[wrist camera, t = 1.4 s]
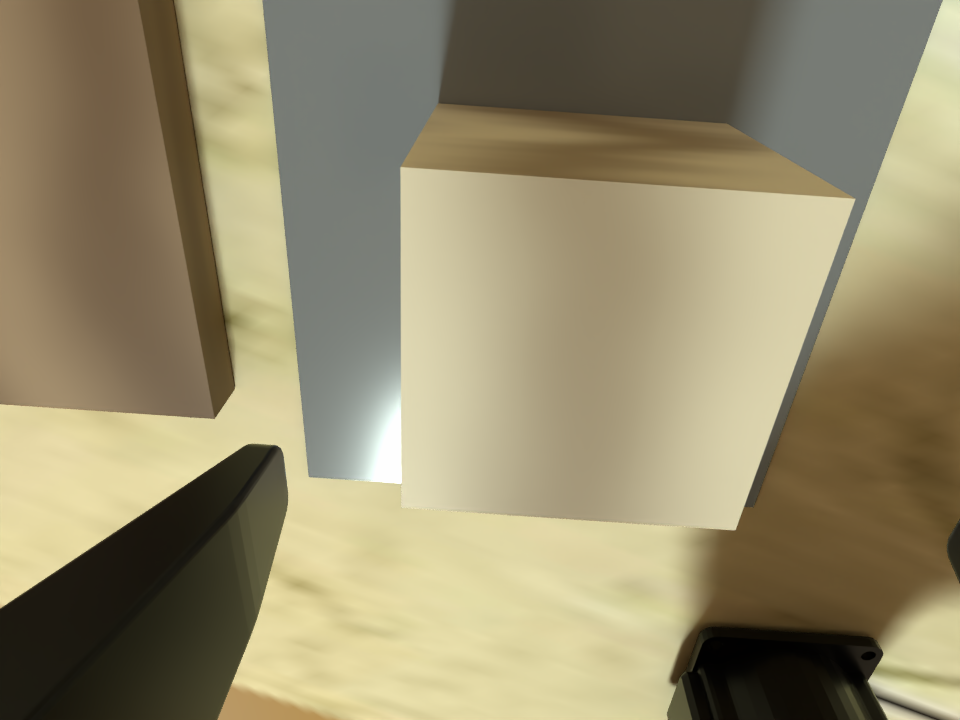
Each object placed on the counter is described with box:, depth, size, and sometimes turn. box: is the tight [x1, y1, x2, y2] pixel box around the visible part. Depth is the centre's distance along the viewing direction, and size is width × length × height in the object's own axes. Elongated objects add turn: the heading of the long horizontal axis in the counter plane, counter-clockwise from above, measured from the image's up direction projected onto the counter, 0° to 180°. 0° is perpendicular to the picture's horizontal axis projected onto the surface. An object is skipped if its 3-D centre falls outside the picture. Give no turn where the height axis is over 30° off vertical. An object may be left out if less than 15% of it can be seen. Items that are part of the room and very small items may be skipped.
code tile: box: [263, 0, 942, 507], centre depth 16 cm, size 14×16×1 cm
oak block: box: [400, 103, 855, 530], centre depth 13 cm, size 6×6×6 cm
